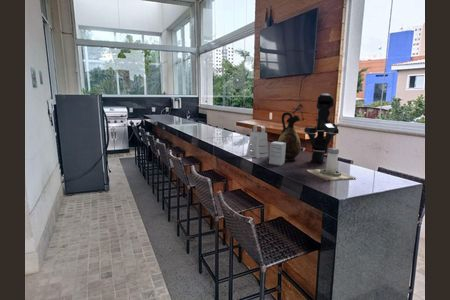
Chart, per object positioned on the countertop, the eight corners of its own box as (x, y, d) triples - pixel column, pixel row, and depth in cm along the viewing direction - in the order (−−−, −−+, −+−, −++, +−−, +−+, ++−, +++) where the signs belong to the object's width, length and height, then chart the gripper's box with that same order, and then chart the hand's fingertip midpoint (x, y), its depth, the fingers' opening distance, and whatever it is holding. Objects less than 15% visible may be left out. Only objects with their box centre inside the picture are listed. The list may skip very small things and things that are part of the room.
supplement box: (273, 161, 167) (274, 141, 165) (284, 163, 164) (286, 142, 161) (268, 163, 161) (270, 142, 159) (280, 165, 157) (282, 144, 155)
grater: (257, 158, 175) (259, 126, 171) (246, 155, 183) (248, 125, 179) (268, 156, 182) (270, 126, 178) (257, 153, 189) (259, 124, 186)
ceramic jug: (302, 158, 180) (307, 112, 174) (295, 162, 167) (300, 113, 161) (277, 154, 188) (281, 111, 183) (269, 158, 175) (273, 111, 169)
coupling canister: (327, 171, 146) (330, 147, 143) (337, 173, 142) (340, 149, 140) (323, 173, 142) (326, 148, 139) (333, 175, 138) (336, 150, 136)
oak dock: (333, 170, 152) (333, 166, 152) (355, 179, 137) (356, 175, 136) (306, 171, 148) (307, 167, 147) (326, 180, 132) (327, 176, 131)
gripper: (317, 118, 140) (314, 148, 143) (347, 119, 146) (343, 148, 148) (305, 116, 151) (302, 144, 153) (333, 117, 156) (330, 144, 159)
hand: (319, 145), depth 153 cm, fingers open, 9 cm apart
